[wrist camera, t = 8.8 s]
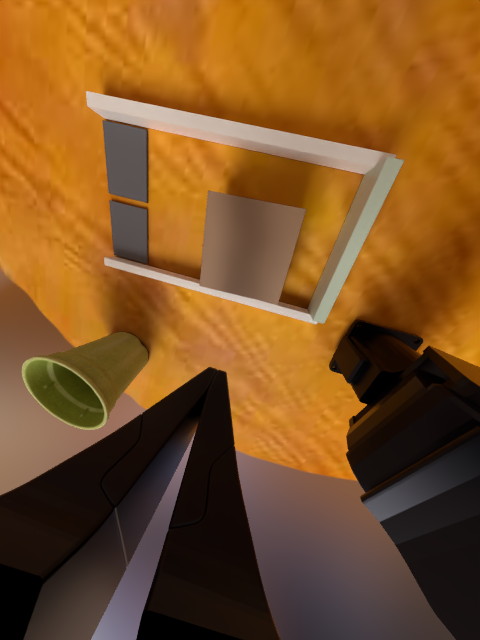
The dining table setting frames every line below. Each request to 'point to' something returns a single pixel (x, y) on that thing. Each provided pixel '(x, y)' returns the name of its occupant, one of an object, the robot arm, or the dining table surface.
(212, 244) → the walnut block
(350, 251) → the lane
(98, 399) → the plant pot
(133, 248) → the pads
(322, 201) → the dining table surface
